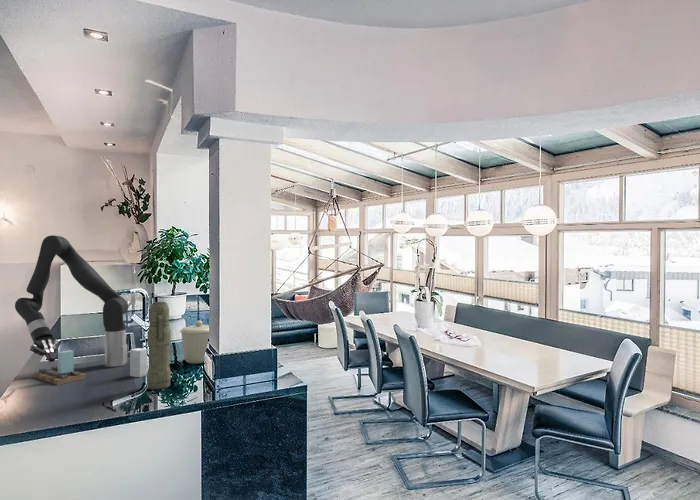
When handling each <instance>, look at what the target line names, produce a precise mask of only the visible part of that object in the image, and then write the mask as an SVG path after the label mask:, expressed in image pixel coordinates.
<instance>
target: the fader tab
mask: <svg viewBox="0 0 700 500" xmlns="http://www.w3.org/2000/svg"><path fill="white" fill-rule="evenodd" d="M74 352H75V351H74V350H72V349H67V350H63V351H57V366H58V373H60V374H65V375H71V372H72V371H75V370H74V368H75V367H74V366H75V365H74V362H75V361H74V360H75V359H74V358H75V357H74V355H75V354H74Z"/></svg>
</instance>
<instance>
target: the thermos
mask: <svg viewBox="0 0 700 500" xmlns="http://www.w3.org/2000/svg"><path fill="white" fill-rule="evenodd" d="M148 311H149V313H148V314H149V315H148V316H149V317H148V321H149V324H148V331H147V347H148V368H147V375H146V376H147V379H146V381H147V389H149V390H162V389H166V388H169V387H170V386H171V379H172V378H171V377H172V375H171V373H172V371H171V367H170V345H171V342H172V341H171V338H172V337H171V334H172V333H171V328H170V323H169V321H170V308H169V305H168V303H167V302H166V301H156V302H155V301H154V302H153V303H151V304H150V307H149V310H148Z"/></svg>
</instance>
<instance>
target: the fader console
mask: <svg viewBox="0 0 700 500" xmlns="http://www.w3.org/2000/svg"><path fill="white" fill-rule="evenodd" d="M33 378H35V379H38V380H42V381H44V382H48V383H50V384H54V385H57V386H60V385H62V384H63V385H64V384H68V383H73V382H76V381H81V380H83V379H86V373H83V372H80V371H76V370H74V371H72V372H71V375H65V374H60V373H58V365H55V366H51V368H50V369H47V368H40V369H38V371H36V372H33Z"/></svg>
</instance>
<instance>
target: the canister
mask: <svg viewBox="0 0 700 500" xmlns="http://www.w3.org/2000/svg"><path fill="white" fill-rule="evenodd" d="M209 325H210V324H203V321H202V320H201V319H200V320H196V321H195V322H194V325H193V324H192V325H187V326H185V327H183V328H182V329H180V330H179V333H180V334H181V342H182V344H181V345H182V352H183V357H184V361H186V363H187V364H188V363H189V364H192V365H194V364H195V365H197V364H204V363H203V361H204V352H205V351H206V349H207V343H208V339H209Z"/></svg>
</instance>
